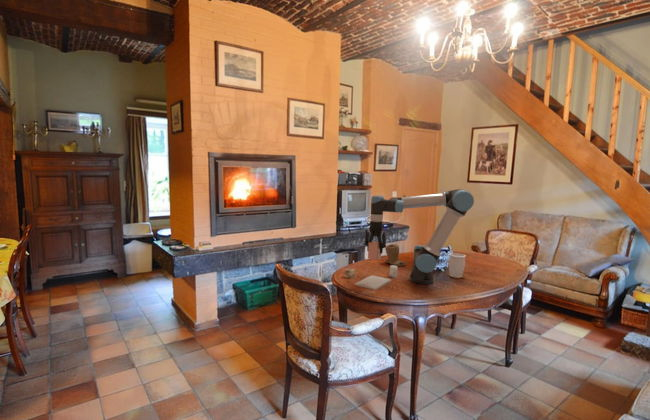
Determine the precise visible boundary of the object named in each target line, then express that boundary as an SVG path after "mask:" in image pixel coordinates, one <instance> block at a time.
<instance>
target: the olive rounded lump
mask: <svg viewBox="0 0 650 420" xmlns="http://www.w3.org/2000/svg"><path fill="white" fill-rule="evenodd" d="M343 276H344V278H347V279H354V278H355V277H356V269H355V268H345V269H344V275H343Z"/></svg>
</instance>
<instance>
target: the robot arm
mask: <svg viewBox="0 0 650 420" xmlns="http://www.w3.org/2000/svg"><path fill="white" fill-rule="evenodd" d="M370 200H371V201H370V220H369V224H370V225H369V228H368V229H367V228H366V229H365V230H364V231H365V238H364V246H366V247H367V249H366V251H367V252H368V246H369V242H372V241H374V237H376V238H377V242H378V243H379V247H380V248H378V260H381V258H382V254H383V250H384V249H385V248H386V246H387V237H386V236H387V231H384V230H383V220H384V219H383V218H384V213H396V214H398V213H403V212H404V210H405V209H415V208H418V209H419V208H427V207H429V208H430V207H439V206H443V207H445V208H446V211H445V213H444V214H443V216H442V217H441V219H440V221H439V223H438V225H437V226H436V228H435V230H434V231H433V233H432V235H431V237H430V238H429V240H428V242H427V243H426V244H423V245H418V244H417V245H414V248H413V262H412V263H413V266H412V270H411V272H410V275H409V281H410V282H412V283H416V284H419V285H430V284H433V283H434V280H435V278H434V273H433V271H434V270H435V269H436V268H437V262H438V261H439V258H440V257H441V250H442V249H443V247H444V246H445V244H446V242H447V240H448V238H449V237H450V235H451V233H452V232H453V230H454V229H455V227H456V225H457V223H458V222H459V220H460V218H463V217H465V216H466V214H467V213H468V211H469V210H471V209H472V208H473V206H474V203H475V198H474V196H473V194H472V193H471V192H470V191H469V190H465V189H462V188H457V189H453V190H445V191H442V192H441V193H432V194H431V193H430V194H421V195H411V196H410V195H409V196H401V197H394V196H393V197H391V198H389V199H385V197H384V195H373V196H371V199H370Z"/></svg>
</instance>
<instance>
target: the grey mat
mask: <svg viewBox="0 0 650 420" xmlns="http://www.w3.org/2000/svg"><path fill="white" fill-rule="evenodd" d="M391 281H392V279H391V278H386V277H383V276H377V275H370V276H367V277H365V278H363V279H362V280H358V281H357V282H355V283H354V286H357V287H362V288H365V289H369V290H373V291H377V290H378V289H380V288H381V287H383V286H385V285H388V283H390V282H391Z"/></svg>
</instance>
